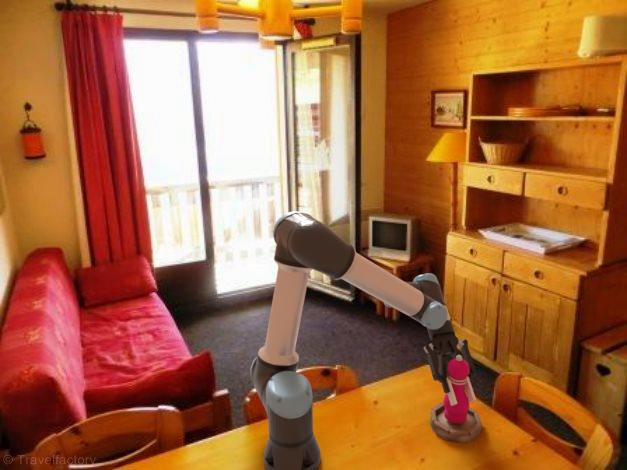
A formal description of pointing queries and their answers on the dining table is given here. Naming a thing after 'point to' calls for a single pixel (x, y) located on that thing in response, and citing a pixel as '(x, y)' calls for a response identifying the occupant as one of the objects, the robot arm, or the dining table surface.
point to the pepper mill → (457, 391)
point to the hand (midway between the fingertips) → (463, 402)
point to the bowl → (455, 425)
